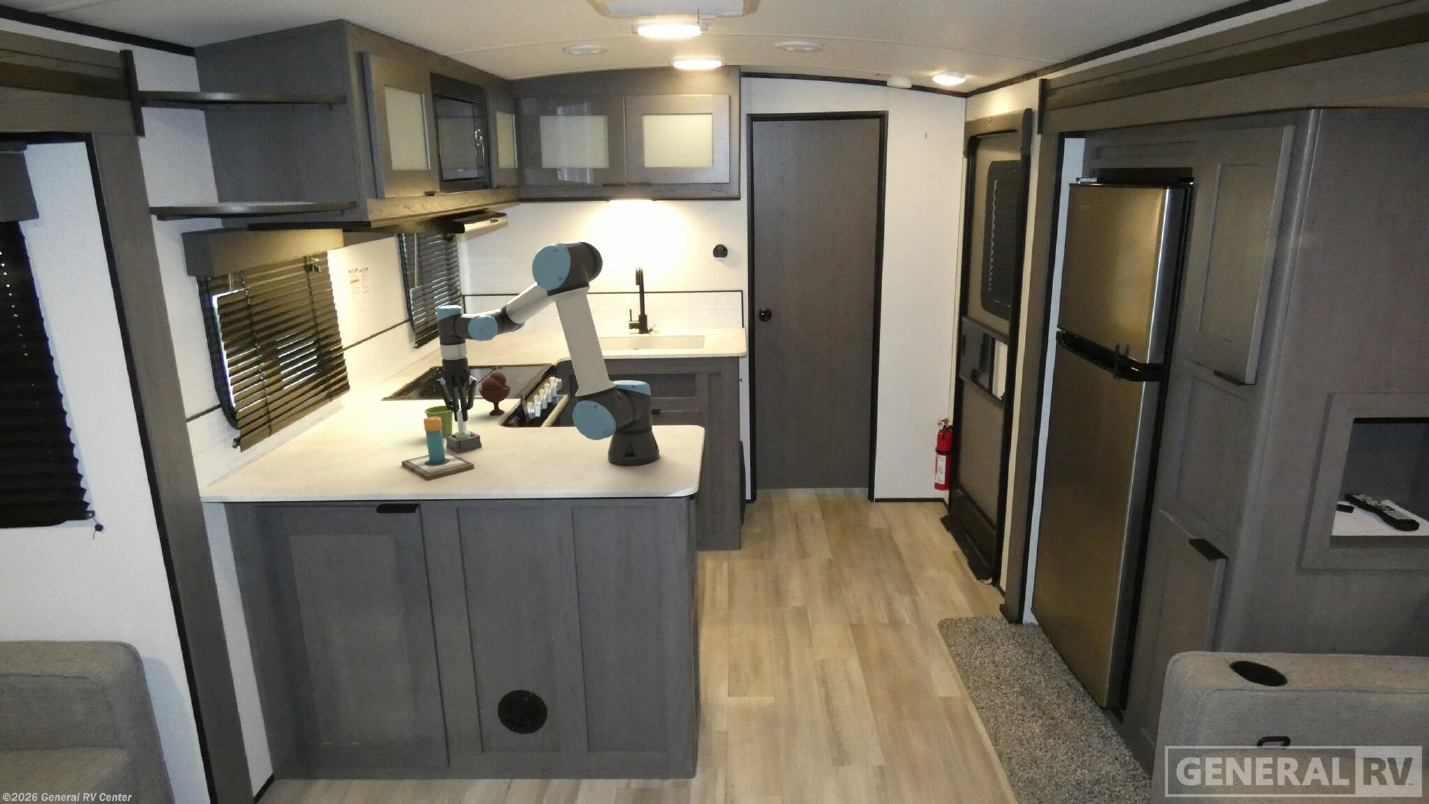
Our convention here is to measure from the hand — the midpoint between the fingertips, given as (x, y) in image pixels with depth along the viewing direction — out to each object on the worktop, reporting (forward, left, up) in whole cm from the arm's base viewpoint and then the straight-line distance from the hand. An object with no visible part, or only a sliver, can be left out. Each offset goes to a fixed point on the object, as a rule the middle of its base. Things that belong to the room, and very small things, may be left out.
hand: (462, 431), depth 264 cm
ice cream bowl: (+28, -26, -5) cm, 39 cm away
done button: (0, 0, -4) cm, 4 cm away
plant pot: (+18, -1, -5) cm, 19 cm away
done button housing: (0, 0, -5) cm, 5 cm away
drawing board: (-12, +14, -5) cm, 19 cm away
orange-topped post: (-12, +14, -4) cm, 19 cm away
